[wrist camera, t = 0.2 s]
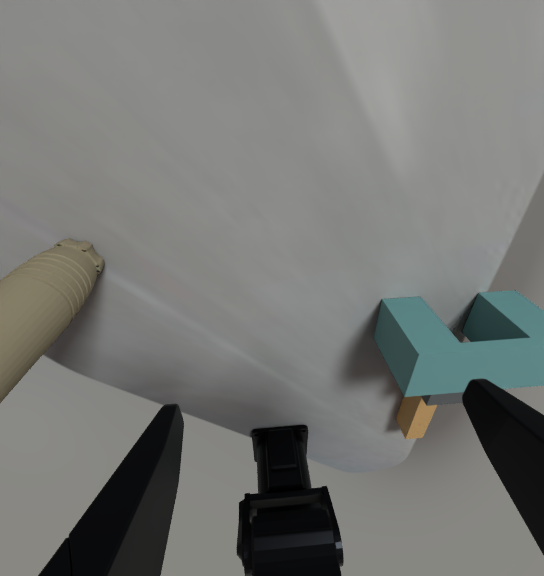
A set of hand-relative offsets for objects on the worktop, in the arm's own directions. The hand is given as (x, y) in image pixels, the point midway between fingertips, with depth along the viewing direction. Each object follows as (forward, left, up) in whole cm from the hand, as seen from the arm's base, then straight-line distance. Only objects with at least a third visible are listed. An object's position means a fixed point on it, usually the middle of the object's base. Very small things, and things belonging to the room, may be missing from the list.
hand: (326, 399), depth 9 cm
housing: (-9, -15, -15) cm, 23 cm away
